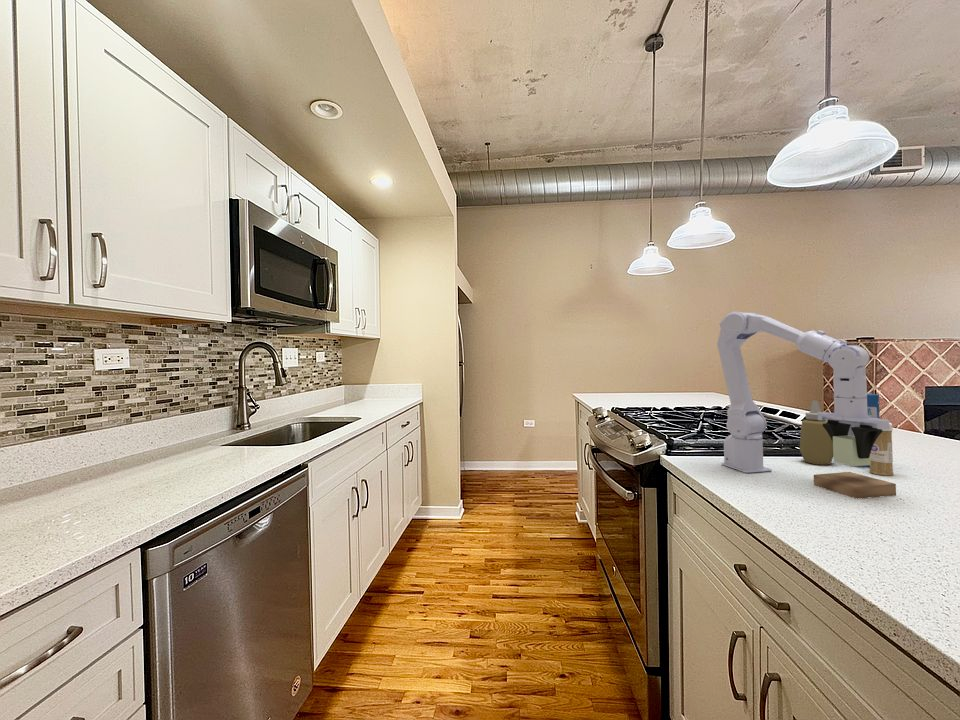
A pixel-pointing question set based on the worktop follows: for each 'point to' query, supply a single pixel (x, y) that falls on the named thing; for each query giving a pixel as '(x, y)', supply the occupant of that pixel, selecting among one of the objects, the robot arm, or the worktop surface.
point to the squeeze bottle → (815, 439)
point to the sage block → (847, 451)
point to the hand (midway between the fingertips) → (852, 455)
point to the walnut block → (855, 485)
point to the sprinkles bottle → (882, 454)
